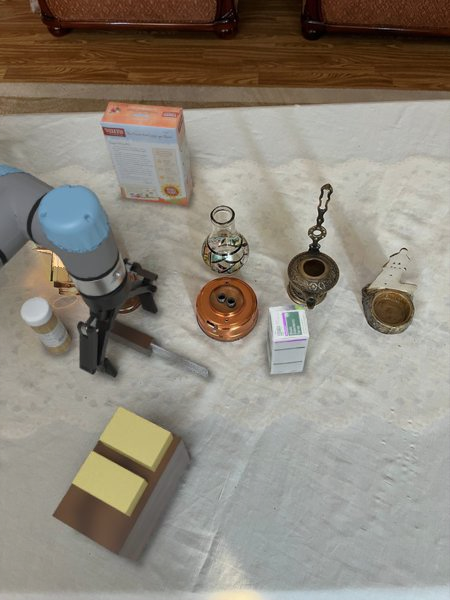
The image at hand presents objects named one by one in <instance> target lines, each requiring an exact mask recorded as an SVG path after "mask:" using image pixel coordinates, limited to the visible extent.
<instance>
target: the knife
mask: <svg viewBox="0 0 450 600" xmlns="http://www.w3.org/2000/svg"><path fill="white" fill-rule="evenodd" d="M105 321H107V322H108V320H105ZM109 339H111V340H113V341H115V342H117V343H120V344H122V345H123V346H125V347H128V348H130V349H132V350H134V351H136V352H138V353H140V354H143V355H145V356H147V357H148V358H150V357H151V356H152V355H153V353H154V354H156V355H158V356H160V357H162V358H164V359H167V360H169V361H171V362H173V363H175V364H177V365H179V366H181V367H183V368H185V369H188V370H190V371H192V372H194V373H196V374H198V375H201V376H202V377H204V378H207V379H209V378H210V375H209V370H208V369H207V368H206V367H204V366H202V365H199V364H197V363H195V362H193V361H191V360H188V359H187V358H184V357H182V356H180V355H178V354H177V353H176V354H175V353H174V352H172V351H169V350H168V349H166V348H163V347H161V346H159V345H157V343H156V340H155V337H153V336H151V335H149V334H147V333H145V332H142V331H140V330H138V329H136V328H134V327H131V326H130V325H128V324H126V323H123V322H121V321H119V320H117V319H116V320H115V325H114V328H112V329H111V330H110V335H109Z"/></svg>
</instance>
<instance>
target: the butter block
mask: <svg viewBox="0 0 450 600" xmlns="http://www.w3.org/2000/svg"><path fill="white" fill-rule="evenodd" d="M171 433H172V432H171V431H169V430H167V429H165V428H163V427H161V426H159V425H157V424H156V423H153V422H151V421H150V420H148V419H146V418H144V417H142V416H140V415H138V414H136V413H134V412H133V411H131V410H128V409H126V408H124V407H123V406H121V405H119V406H118V408H117V409H116V411H115V413H114V414H113V415H112V417H111V419H110V420H109V422H108V424H107V425H106V427H105V429H104V430H103V431H102V433H101V434H100V437H99V438H98V441H99V440H100V441H101V442H102V443H103V444H104V445H105V446H107V447H109V448H111V449H113V450H114V451H116V452H118V453H120V454H122V455H124V456H126V457H127V458H129V459H131V460H133V461H135V462H137V463H138V464H140V465H142V466H144V467H146V468H148V469H150V470H151V471H153V472H155V471H156V469H157V467H158V465H159V464H160V462H161V460H162V458H163V456H164V455H165V453H166V451H167V449H168V447H169V446H170V444H171V442H172V440H173V436H172V434H173V433H172V434H171Z"/></svg>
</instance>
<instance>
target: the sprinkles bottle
mask: <svg viewBox="0 0 450 600" xmlns="http://www.w3.org/2000/svg"><path fill="white" fill-rule="evenodd" d="M20 316H21V318H22V319H23V321H24V322H25V324H27V325H28V326H29V327H30V328H31V329H32V330H33V332H34V333H35V335H36V336H37V337H38V338H39V339H40V341H41V342H42V343H43V344H44V345H45V347H46V348H47V349H48V351H50V352H51V353H52V354H56V355H59V354H62V353H65V352H66V351H67V350H68V349H70V346H72V339H73V338H72V337H71V335H70V334H69V332H68V330H67V329H66V327H65V326H64V324H63V323H62V321H61V319H59V317H58V316H57V315H56V313H55V311H53V307H52V306H51V304H50V303H49V301H48V300H47V299H46V298H44V297H41V296H34V297H33V296H32V297H31V298H29V299H26V300H25V301H24V303H22V305H21V307H20Z"/></svg>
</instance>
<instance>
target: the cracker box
mask: <svg viewBox="0 0 450 600" xmlns="http://www.w3.org/2000/svg"><path fill="white" fill-rule="evenodd" d="M100 126H101V130H102V132H103V136H104V139H105V142H106V146H107V150H108V152H109V156H110V159H111V162H112V165H113V169H114V173H115V175H116V179H117V182H118V186H119V189H120V191H121V194H122V198H123V199H126V200H134V201H143V202H149V203H150V202H151V203H152V202H153V203H159V204H168V205H169V204H170V205H178V206H179V205H180V206H188V205H189V203H190V199H191V195H192V193H193V188H194V184H193V183H194V182H193V175H192V168H191V161H190V153H189V147H188V145H189V144H188V139H187V137H188V136H187V130H186V125H185V115H184V109H183V107H175V106H164V105H152V104H151V105H150V104H140V103H139V104H138V103H128V102H127V103H126V102H117V101H108V103H107V105H106V108H105V111H104V113H103V116H102V118H101V120H100Z"/></svg>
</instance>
